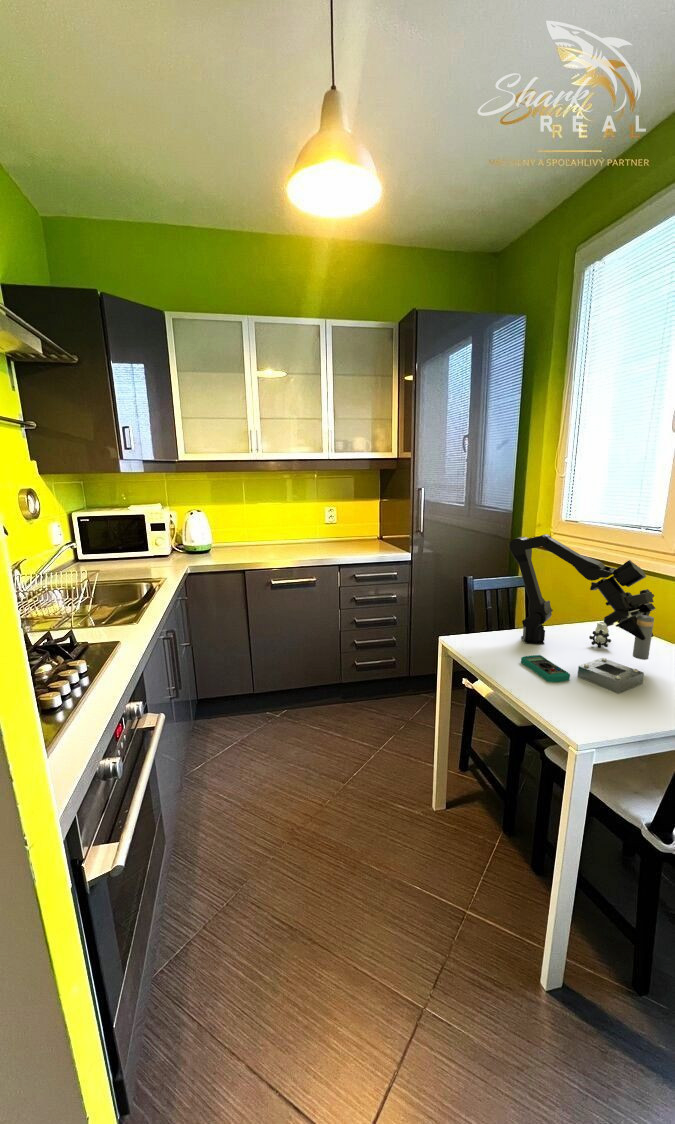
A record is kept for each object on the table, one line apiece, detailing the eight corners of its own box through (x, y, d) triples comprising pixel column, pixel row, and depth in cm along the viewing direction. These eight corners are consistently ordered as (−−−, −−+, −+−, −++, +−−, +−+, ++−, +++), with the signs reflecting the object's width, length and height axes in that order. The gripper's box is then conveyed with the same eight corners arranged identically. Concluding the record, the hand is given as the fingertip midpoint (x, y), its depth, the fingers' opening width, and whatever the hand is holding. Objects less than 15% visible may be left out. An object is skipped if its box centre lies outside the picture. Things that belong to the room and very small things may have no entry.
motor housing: (577, 676, 128) (578, 664, 127) (601, 668, 134) (602, 656, 133) (618, 693, 118) (620, 680, 117) (642, 683, 123) (644, 670, 122)
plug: (636, 659, 129) (642, 619, 127) (629, 654, 133) (635, 614, 131) (651, 660, 129) (657, 619, 126) (643, 654, 133) (649, 615, 130)
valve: (591, 636, 161) (588, 646, 152) (592, 619, 160) (590, 628, 150) (611, 639, 157) (610, 650, 148) (613, 622, 156) (612, 632, 147)
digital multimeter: (549, 684, 124) (550, 675, 124) (519, 663, 139) (520, 655, 138) (571, 682, 126) (572, 673, 125) (539, 661, 140) (540, 653, 139)
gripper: (618, 585, 126) (655, 631, 118) (652, 577, 134) (688, 620, 127) (589, 603, 134) (622, 648, 126) (623, 596, 142) (655, 637, 135)
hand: (648, 638), depth 128 cm, fingers closed on plug, 4 cm apart
